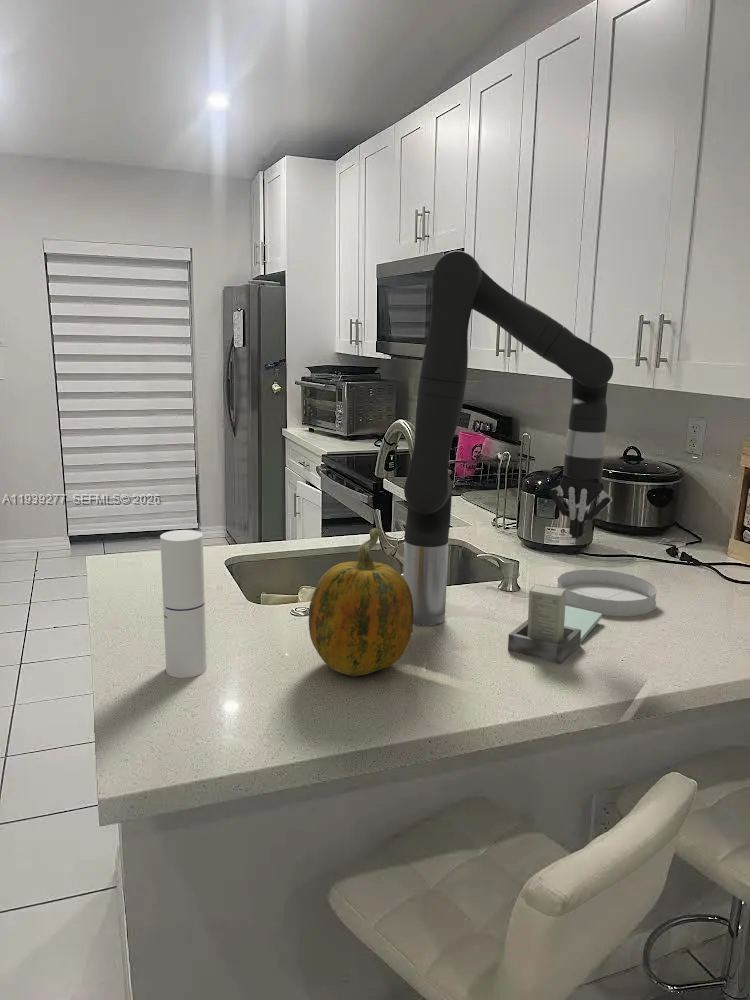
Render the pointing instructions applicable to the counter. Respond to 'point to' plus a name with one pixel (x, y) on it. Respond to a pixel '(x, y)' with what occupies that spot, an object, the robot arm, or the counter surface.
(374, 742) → the counter surface
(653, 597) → the dish
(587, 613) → the open box lid
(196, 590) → the cylindrical container
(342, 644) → the pumpkin
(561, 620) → the skincare box
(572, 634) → the dark grey tray
